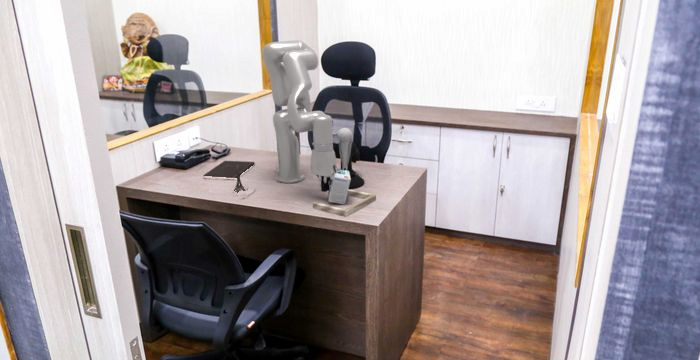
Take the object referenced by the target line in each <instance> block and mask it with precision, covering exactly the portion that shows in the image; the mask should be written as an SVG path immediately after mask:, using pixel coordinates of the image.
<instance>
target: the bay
mask: <svg viewBox="0 0 700 360" xmlns="http://www.w3.org/2000/svg"><path fill="white" fill-rule="evenodd" d="M347 196H351V197H355V198H359V199H362V200H360V201H357V203H355V204H353V205H351V206H349V207H347V208H345V209H344V208H340V207H336V206H333V205H328V204H325V203H321V202H317V201H314V202H313V203H312V208H313V209H315V210H318V211H323V212H327V213H330V214H334V215H339V216H340V217H341V216H343V217H345V218H347V217H348V216H350V215H352V214H354V213H355V212H357V211H359V210H361V209H362V208H364V207H366V206H369V204H371V203H373V202H375V201H376V200H377V194H373V193H369V192H363V191H358V190H356V189H348V193H347Z"/></svg>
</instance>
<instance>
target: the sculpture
mask: <svg viewBox="0 0 700 360" xmlns="http://www.w3.org/2000/svg"><path fill="white" fill-rule="evenodd" d="M337 137H338V138H337V139H338V141H339V142H338V148H339V149H338V151H339V153H338V154H339V157H340V158H339V159H340V170H346V171H349V173H350V178H351V180H350V185H349V189H350V190H357V189H359V188H362V187H363V186H364V185H365V180H364V178H362V177H361V175H358V174H356V173H357V172H356V170H354V169H353V164H356V163H357V162H360V158H361V157H360V154H361V153H360V149H359V148H357V144H356V143H355V142H354V141H353V132H352V130H351V129H350V128H348V127H342V128H341V129H339V130H338V131H337ZM330 182H331V180H330V181H329V186H330Z"/></svg>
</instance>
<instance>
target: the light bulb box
mask: <svg viewBox="0 0 700 360" xmlns="http://www.w3.org/2000/svg"><path fill="white" fill-rule="evenodd" d="M350 180H351V178H350V173H349V171H346V170H341V169H338V168H337V173H336V172H335V174H334V178H333V179H331V182H330V185H329V191H327V193H328V202H329V203H333V204H334V203H335V204H340V205H346V200H347V197H348V195H347V193H348V189H349V185H350Z"/></svg>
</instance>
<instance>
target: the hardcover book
mask: <svg viewBox="0 0 700 360" xmlns="http://www.w3.org/2000/svg"><path fill="white" fill-rule="evenodd" d="M254 164H255V165H256V163H255V162H254V161H241V160H224V161H222V162H220V163H219V164H217V165H216V166H215V167H213V168H211V170H209V171H207V172H206V173H205V174H203V175H202V176H203V177H204V176H212V177H226V178H237V166H238V170H239V176H240V175H241V174H242V173H243V172H245V171H246V170H247V169H249V168H250V167H251V166H253V165H254ZM255 165H254V166H255ZM254 166H253V167H254Z"/></svg>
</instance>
